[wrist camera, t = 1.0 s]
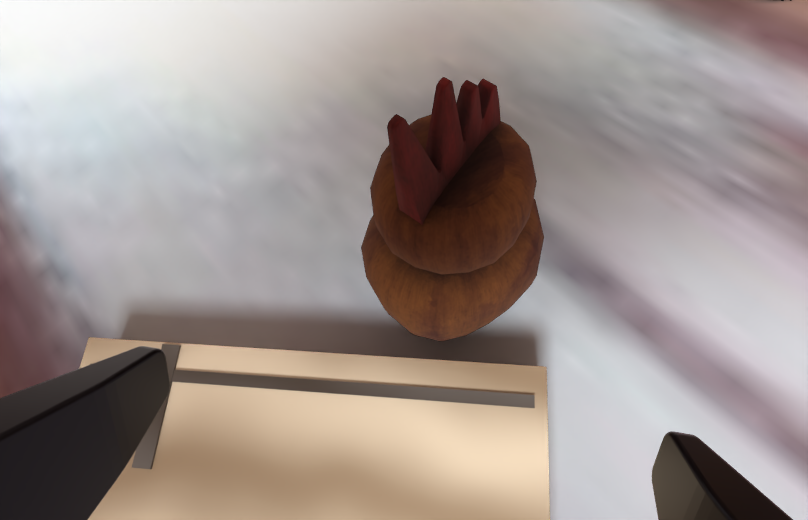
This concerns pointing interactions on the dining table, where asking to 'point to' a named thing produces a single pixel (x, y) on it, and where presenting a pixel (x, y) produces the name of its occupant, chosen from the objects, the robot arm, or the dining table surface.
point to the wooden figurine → (453, 216)
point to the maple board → (334, 438)
